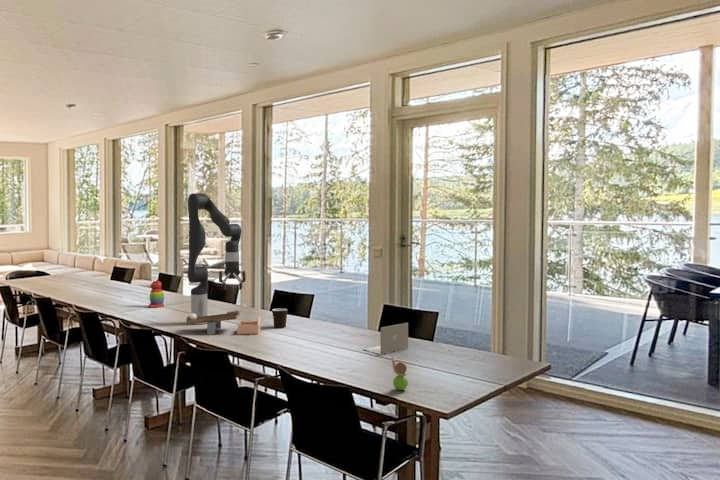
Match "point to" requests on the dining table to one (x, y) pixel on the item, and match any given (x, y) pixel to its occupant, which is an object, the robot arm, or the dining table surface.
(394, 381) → the snail figurine
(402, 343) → the laptop
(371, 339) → the dining table surface
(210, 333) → the lever stand
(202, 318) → the lever
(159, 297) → the stacking bear
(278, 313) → the coffee mug
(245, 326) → the cup
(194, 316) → the ball
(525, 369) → the dining table surface
